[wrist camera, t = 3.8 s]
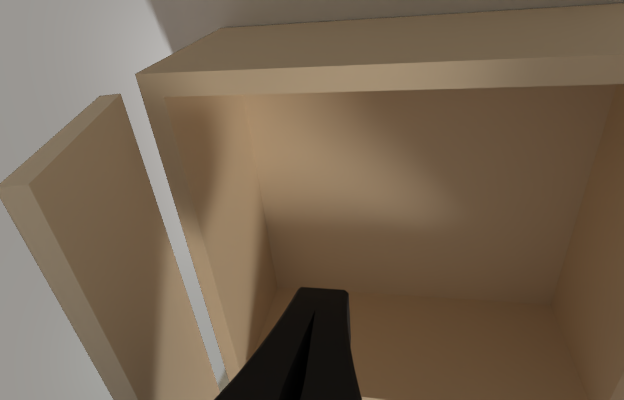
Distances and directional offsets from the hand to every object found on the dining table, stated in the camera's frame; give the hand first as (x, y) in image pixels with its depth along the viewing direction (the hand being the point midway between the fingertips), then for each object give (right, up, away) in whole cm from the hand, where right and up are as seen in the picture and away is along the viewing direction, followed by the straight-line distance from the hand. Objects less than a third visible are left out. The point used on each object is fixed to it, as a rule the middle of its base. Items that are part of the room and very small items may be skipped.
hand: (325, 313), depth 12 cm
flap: (-4, -1, 0) cm, 4 cm away
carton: (+4, +4, +6) cm, 8 cm away
